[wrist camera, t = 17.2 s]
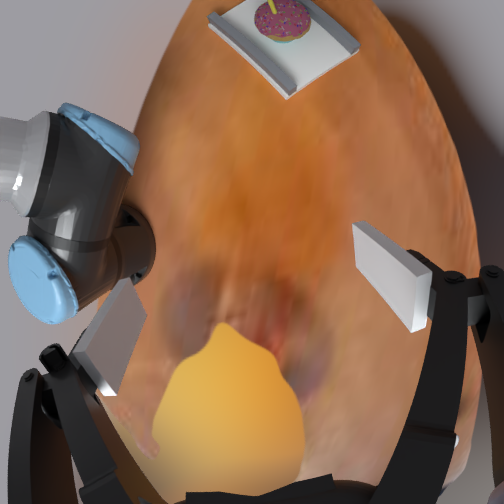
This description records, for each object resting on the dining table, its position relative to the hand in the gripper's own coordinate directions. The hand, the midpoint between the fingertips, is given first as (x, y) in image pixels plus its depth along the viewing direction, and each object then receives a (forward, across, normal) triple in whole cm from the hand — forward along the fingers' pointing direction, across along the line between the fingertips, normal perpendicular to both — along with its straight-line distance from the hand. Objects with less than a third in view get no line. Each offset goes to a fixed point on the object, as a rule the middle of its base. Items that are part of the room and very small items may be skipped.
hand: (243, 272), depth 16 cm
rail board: (+33, +14, +24) cm, 43 cm away
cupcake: (+32, +13, +24) cm, 42 cm away
